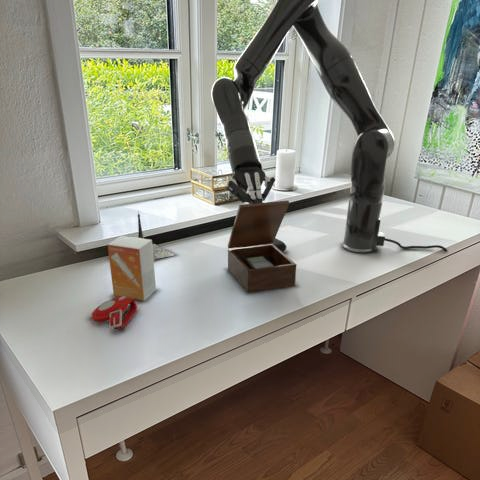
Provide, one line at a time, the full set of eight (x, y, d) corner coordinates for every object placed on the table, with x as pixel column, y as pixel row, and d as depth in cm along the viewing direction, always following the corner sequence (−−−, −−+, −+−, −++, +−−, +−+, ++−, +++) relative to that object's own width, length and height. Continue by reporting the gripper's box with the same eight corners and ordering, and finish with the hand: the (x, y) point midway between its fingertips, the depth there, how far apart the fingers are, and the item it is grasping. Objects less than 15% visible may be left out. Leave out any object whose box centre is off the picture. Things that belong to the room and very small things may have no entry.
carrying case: (230, 244, 141) (259, 260, 130) (230, 234, 139) (259, 250, 129) (259, 237, 146) (289, 252, 135) (259, 228, 144) (289, 242, 134)
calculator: (279, 280, 117) (280, 270, 116) (257, 284, 115) (257, 273, 114) (263, 265, 125) (264, 255, 124) (242, 268, 123) (243, 258, 122)
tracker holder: (80, 313, 101) (116, 288, 106) (90, 329, 103) (124, 304, 108) (110, 321, 92) (147, 293, 98) (120, 339, 95) (155, 311, 100)
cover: (289, 202, 112) (288, 200, 112) (240, 207, 108) (239, 204, 108) (273, 243, 125) (272, 240, 126) (228, 248, 121) (227, 246, 122)
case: (294, 285, 117) (296, 264, 114) (247, 293, 113) (248, 271, 110) (271, 263, 128) (272, 243, 126) (227, 269, 125) (227, 249, 122)
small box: (113, 296, 110) (106, 244, 104) (126, 285, 115) (121, 234, 109) (144, 301, 108) (139, 248, 102) (156, 290, 113) (152, 238, 107)
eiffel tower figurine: (154, 245, 139) (150, 200, 132) (175, 255, 133) (172, 208, 126) (109, 258, 130) (102, 210, 123) (128, 269, 124) (123, 220, 117)
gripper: (262, 160, 124) (279, 220, 120) (214, 163, 120) (230, 225, 116) (271, 143, 117) (289, 205, 113) (221, 145, 113) (237, 210, 109)
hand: (259, 215), depth 114 cm, fingers closed
